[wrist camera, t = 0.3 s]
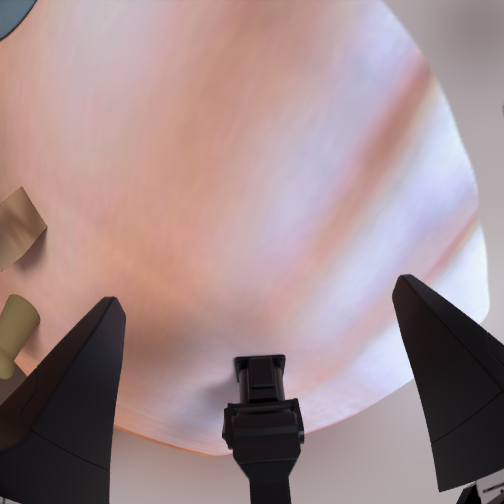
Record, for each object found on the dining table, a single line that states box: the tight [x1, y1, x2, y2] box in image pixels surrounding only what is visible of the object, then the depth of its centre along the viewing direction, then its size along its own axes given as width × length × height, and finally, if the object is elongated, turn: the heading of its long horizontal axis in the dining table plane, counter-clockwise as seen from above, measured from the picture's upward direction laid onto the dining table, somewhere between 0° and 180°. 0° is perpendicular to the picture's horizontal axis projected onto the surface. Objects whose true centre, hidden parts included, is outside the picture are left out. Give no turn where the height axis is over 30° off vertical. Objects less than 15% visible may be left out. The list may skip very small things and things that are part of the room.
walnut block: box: [0, 187, 47, 272], centre depth 19 cm, size 5×5×5 cm
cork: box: [0, 294, 40, 379], centre depth 25 cm, size 6×6×11 cm
